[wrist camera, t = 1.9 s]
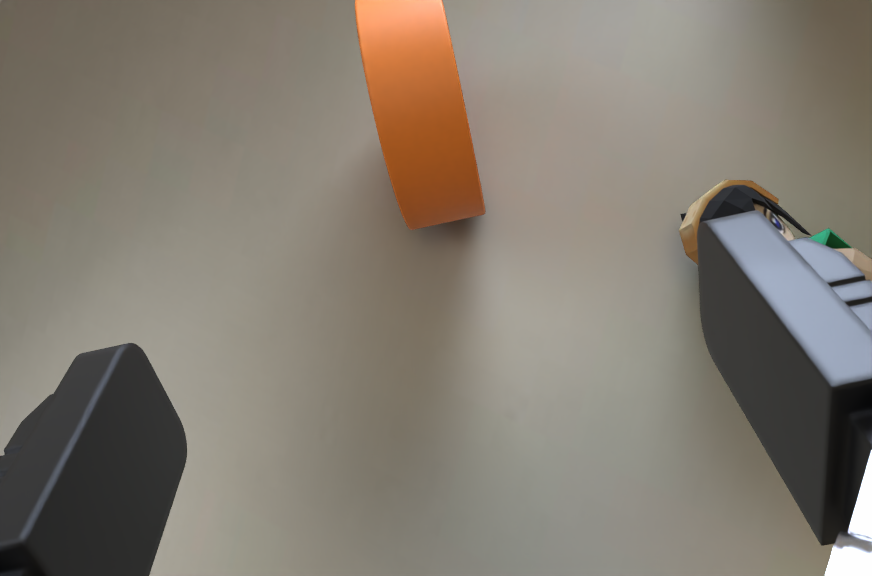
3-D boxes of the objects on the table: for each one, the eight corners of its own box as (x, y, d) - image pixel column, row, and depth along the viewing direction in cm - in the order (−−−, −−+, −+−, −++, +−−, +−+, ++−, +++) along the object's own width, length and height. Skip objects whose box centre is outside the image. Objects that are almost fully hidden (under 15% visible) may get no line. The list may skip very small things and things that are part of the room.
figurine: (1011, 569, 25) (648, 278, 25) (899, 531, 31) (605, 294, 31) (1141, 382, 26) (786, 103, 26) (1008, 378, 31) (719, 149, 32)
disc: (387, 72, 35) (340, -59, 26) (451, 57, 35) (425, -80, 26) (422, 257, 33) (384, 182, 24) (490, 242, 33) (477, 162, 24)
